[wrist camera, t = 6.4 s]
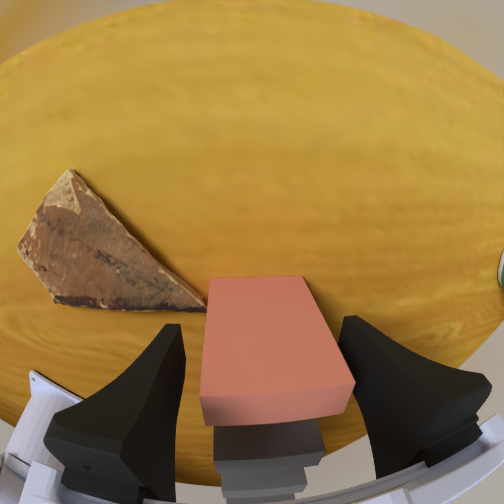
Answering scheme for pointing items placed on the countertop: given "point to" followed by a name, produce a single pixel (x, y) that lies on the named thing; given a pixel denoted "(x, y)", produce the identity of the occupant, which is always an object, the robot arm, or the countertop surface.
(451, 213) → the countertop surface
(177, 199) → the countertop surface
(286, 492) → the domino
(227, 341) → the red domino
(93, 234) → the shard
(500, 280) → the supplement bottle
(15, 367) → the countertop surface
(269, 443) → the domino
